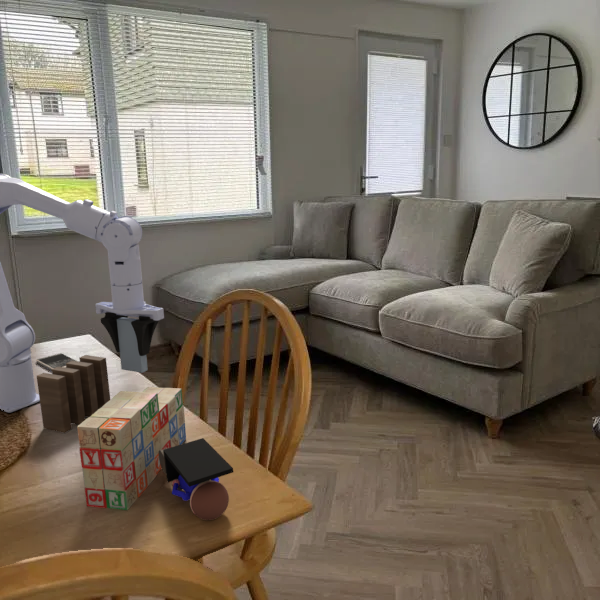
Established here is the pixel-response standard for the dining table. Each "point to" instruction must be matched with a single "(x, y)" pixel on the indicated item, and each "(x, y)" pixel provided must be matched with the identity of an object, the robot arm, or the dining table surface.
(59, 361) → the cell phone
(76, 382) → the domino
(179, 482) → the figurine character
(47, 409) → the domino
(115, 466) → the stack of blocks
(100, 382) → the domino
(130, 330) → the domino
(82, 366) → the domino
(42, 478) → the dining table surface
